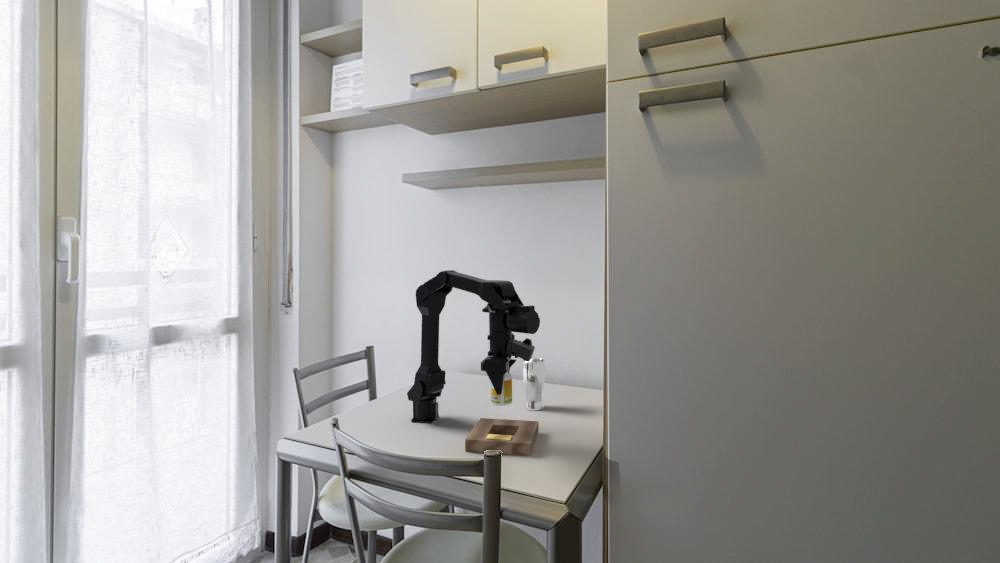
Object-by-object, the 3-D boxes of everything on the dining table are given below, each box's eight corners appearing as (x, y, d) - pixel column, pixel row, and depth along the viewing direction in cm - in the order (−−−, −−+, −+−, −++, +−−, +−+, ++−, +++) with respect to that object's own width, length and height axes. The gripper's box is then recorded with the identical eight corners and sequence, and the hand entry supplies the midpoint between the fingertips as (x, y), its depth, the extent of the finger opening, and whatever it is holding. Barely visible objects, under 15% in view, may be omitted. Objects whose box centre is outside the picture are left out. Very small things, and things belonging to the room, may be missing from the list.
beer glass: (527, 412, 153) (526, 363, 152) (520, 405, 159) (519, 358, 158) (548, 410, 155) (548, 361, 154) (540, 403, 161) (540, 357, 160)
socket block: (465, 451, 123) (465, 438, 123) (480, 428, 139) (480, 416, 139) (530, 455, 120) (530, 442, 120) (538, 432, 136) (538, 420, 135)
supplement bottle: (511, 399, 131) (511, 362, 131) (512, 405, 126) (512, 367, 125) (491, 400, 131) (490, 363, 131) (491, 406, 126) (490, 367, 125)
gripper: (526, 337, 117) (527, 403, 118) (537, 325, 135) (537, 383, 136) (479, 336, 119) (480, 401, 120) (496, 325, 137) (497, 381, 138)
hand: (501, 391), depth 128 cm, fingers closed on supplement bottle, 5 cm apart
